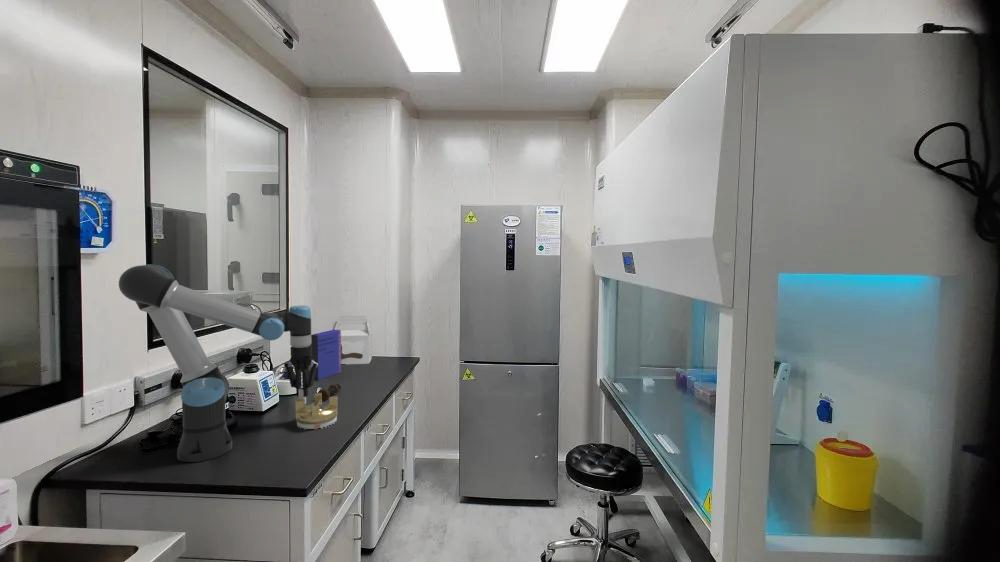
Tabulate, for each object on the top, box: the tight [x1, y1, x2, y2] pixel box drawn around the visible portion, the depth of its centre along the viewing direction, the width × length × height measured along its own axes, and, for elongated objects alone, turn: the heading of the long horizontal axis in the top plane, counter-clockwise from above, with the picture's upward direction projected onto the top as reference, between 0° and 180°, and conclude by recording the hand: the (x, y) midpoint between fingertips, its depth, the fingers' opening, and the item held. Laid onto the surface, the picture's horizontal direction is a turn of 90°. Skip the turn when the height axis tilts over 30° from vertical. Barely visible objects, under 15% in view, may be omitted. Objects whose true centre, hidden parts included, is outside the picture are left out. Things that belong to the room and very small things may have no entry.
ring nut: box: [295, 392, 339, 424], centre depth 168 cm, size 15×15×7 cm
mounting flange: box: [296, 416, 338, 430], centre depth 168 cm, size 14×14×2 cm
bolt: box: [317, 383, 342, 402], centre depth 200 cm, size 6×5×15 cm
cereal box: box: [310, 329, 342, 382], centre depth 231 cm, size 17×5×24 cm, turn 160°
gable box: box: [332, 315, 373, 365], centre depth 263 cm, size 22×13×28 cm, turn 101°
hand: (302, 404), depth 169 cm, fingers closed
